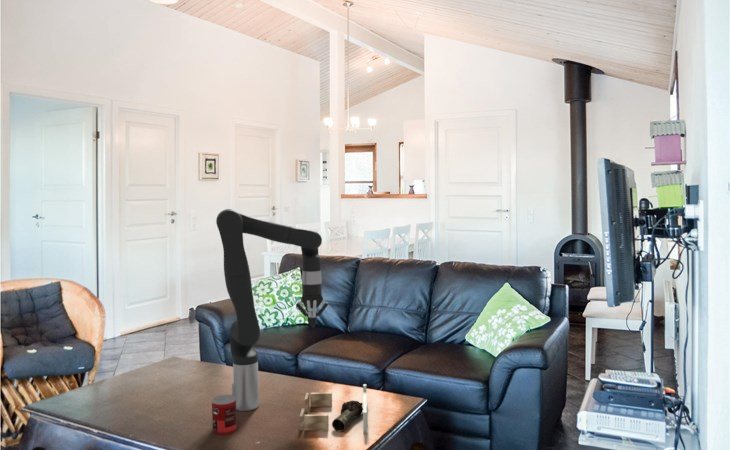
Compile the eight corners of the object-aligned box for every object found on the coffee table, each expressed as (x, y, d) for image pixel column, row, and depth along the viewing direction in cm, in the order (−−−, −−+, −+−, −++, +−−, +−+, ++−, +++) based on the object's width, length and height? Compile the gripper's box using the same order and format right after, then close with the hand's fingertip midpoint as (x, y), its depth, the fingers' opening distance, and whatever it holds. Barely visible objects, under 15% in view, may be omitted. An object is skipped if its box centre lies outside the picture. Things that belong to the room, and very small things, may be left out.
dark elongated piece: (344, 433, 184) (344, 416, 184) (327, 430, 187) (326, 413, 186) (365, 413, 200) (365, 398, 200) (349, 411, 203) (348, 396, 203)
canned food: (214, 426, 190) (214, 395, 190) (238, 425, 191) (237, 394, 190) (210, 435, 183) (209, 403, 182) (234, 434, 183) (234, 402, 183)
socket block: (299, 430, 186) (299, 416, 185) (306, 405, 208) (306, 392, 208) (328, 430, 186) (328, 415, 186) (332, 405, 208) (331, 392, 208)
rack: (363, 433, 183) (363, 412, 183) (363, 402, 211) (363, 384, 211) (367, 433, 183) (366, 412, 183) (366, 402, 211) (366, 384, 211)
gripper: (293, 283, 208) (294, 329, 209) (328, 283, 208) (328, 328, 209) (295, 281, 215) (296, 324, 216) (329, 280, 216) (330, 324, 216)
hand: (312, 326), depth 213 cm, fingers closed
